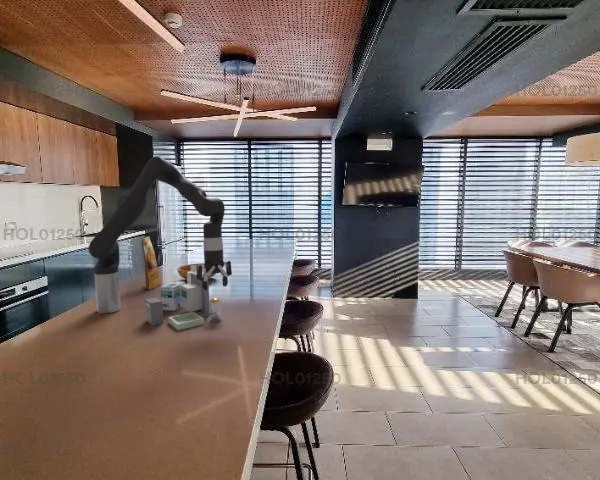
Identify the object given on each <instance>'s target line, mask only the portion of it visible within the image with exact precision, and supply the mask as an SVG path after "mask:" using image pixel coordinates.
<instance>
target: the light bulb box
mask: <svg viewBox="0 0 600 480" xmlns="http://www.w3.org/2000/svg"><path fill="white" fill-rule="evenodd" d="M184 284H186V281H171V282H168V283H165V284H164V285H161V286H160V288H159V289H160V300H161V301H162V306H163V311H171V312H172V311H173V312H175V311H177V310H178V309H181V308H182V305H181V286H180V285H184Z"/></svg>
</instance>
